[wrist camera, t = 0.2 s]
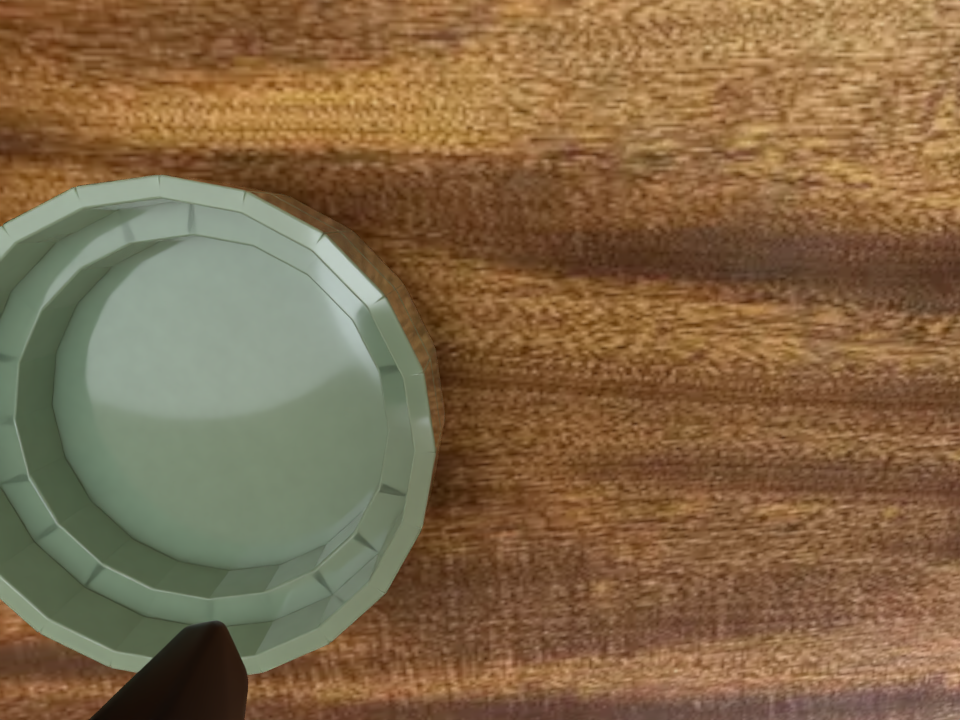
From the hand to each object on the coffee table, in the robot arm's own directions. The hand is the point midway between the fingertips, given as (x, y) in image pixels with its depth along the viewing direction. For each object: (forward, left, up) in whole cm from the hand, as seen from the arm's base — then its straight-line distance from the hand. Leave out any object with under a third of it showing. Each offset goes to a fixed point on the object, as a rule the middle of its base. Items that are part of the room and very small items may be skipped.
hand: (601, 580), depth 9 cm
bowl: (-6, +8, -16) cm, 19 cm away
